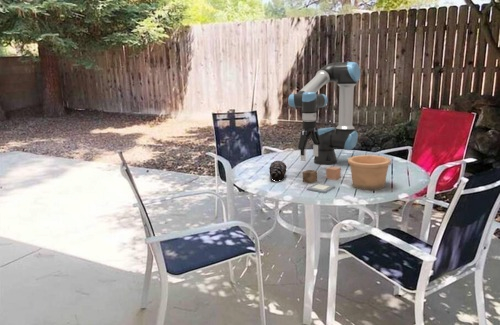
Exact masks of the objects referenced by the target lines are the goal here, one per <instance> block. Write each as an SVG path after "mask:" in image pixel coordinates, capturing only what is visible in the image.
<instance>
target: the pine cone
mask: <svg viewBox="0 0 500 325" xmlns="http://www.w3.org/2000/svg"><path fill="white" fill-rule="evenodd" d="M287 168H288V167H287V164H286V163H285V162H284V161H281V160H273V162H271V164H270V165H269V176H270V179H271V178H272V179H273V180H275V181H279V180H282V179H283V178H284V179H285V177H286V176H285V175H286V173H287ZM284 176H285V177H284ZM284 179H283V180H284ZM283 180H282V181H283ZM279 182H280V181H279Z"/></svg>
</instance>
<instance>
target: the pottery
mask: <svg viewBox="0 0 500 325" xmlns="http://www.w3.org/2000/svg"><path fill="white" fill-rule="evenodd" d="M347 163H348V165H349V166H350V173H351V174H350V175H351V182H352V186H353V187H354V188H356V189H360V190H364V191H365V190H366V191H378V190H381V189H383V188H385V186H386V180H387V174H388V169H389V166H390V165H391V163H392V160H391V158H389V157H385V156H382V155H375V154H374V155H373V154H362V155H361V154H360V155H354V156H351V157H348V159H347Z"/></svg>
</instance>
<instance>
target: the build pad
mask: <svg viewBox="0 0 500 325" xmlns="http://www.w3.org/2000/svg"><path fill="white" fill-rule="evenodd" d="M335 188H336V185H333V184H332V185H331V184H325V183H319V182H315V183H313V184H312V185H310V186H308V187H306V191H311V192H315V193H316V192H317V193H321V194H326V193H328V192H330V191H332V190H334V189H335Z"/></svg>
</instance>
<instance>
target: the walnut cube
mask: <svg viewBox="0 0 500 325" xmlns="http://www.w3.org/2000/svg"><path fill="white" fill-rule="evenodd" d="M317 182H318V171H317V170H314V169H306V170H304V171H302V183H307V184H312V185H313V184H315V183H317Z"/></svg>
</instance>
